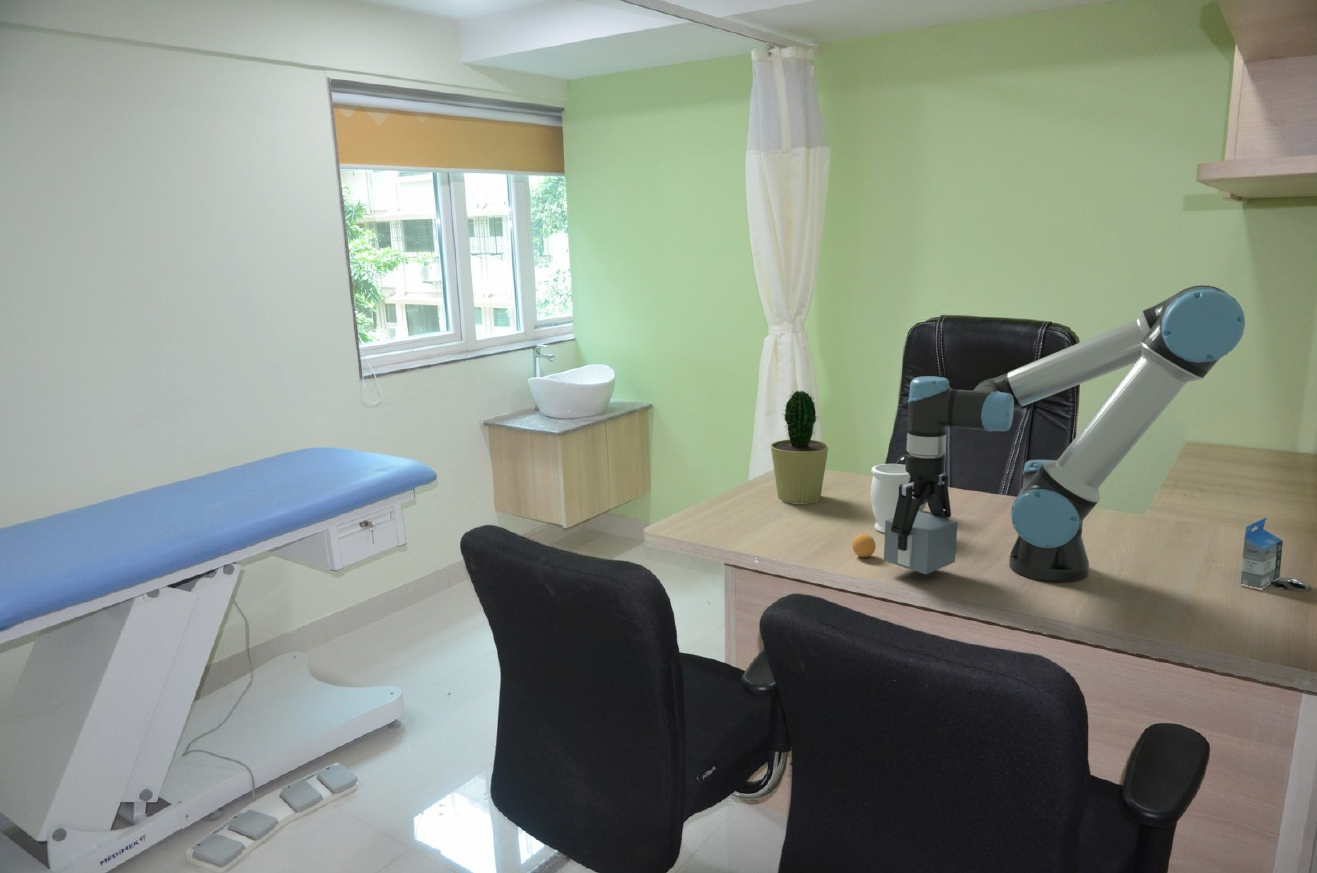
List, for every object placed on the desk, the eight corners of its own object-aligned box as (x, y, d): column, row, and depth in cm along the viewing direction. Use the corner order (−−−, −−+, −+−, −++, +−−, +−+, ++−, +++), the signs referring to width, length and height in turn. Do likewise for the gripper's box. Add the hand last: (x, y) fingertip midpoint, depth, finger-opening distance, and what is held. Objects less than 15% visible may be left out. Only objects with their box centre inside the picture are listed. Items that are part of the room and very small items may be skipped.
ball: (880, 556, 194) (880, 535, 193) (865, 562, 191) (866, 540, 190) (861, 551, 198) (862, 529, 197) (847, 556, 195) (847, 534, 194)
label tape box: (1261, 592, 170) (1268, 531, 167) (1237, 586, 173) (1244, 526, 170) (1279, 581, 175) (1287, 521, 172) (1256, 575, 178) (1263, 516, 175)
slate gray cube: (955, 562, 183) (957, 521, 181) (926, 574, 176) (928, 532, 174) (912, 549, 190) (914, 510, 188) (883, 560, 184) (885, 520, 182)
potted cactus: (762, 493, 245) (761, 386, 239) (813, 488, 249) (814, 382, 242) (782, 509, 231) (782, 395, 224) (837, 503, 234) (839, 391, 228)
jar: (916, 537, 206) (918, 474, 203) (870, 535, 208) (872, 473, 205) (912, 523, 216) (914, 463, 213) (869, 521, 218) (870, 462, 215)
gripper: (941, 441, 188) (935, 541, 193) (875, 460, 174) (870, 566, 179) (973, 447, 182) (966, 549, 187) (907, 467, 168) (902, 577, 173)
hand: (919, 558), depth 183 cm, fingers closed on slate gray cube, 10 cm apart
